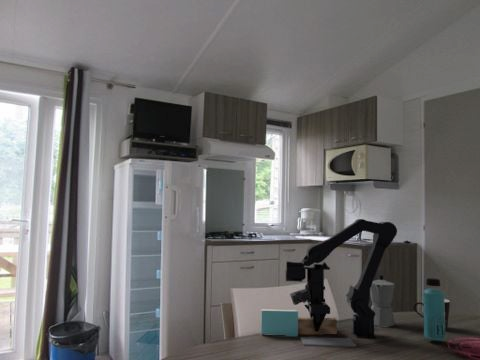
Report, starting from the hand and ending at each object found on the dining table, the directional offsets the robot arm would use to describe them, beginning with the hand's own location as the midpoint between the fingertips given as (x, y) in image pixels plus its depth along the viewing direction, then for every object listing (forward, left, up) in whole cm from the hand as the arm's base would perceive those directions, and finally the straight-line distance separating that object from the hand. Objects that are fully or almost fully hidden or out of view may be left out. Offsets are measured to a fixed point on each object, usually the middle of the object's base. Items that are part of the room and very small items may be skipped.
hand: (315, 329), depth 135 cm
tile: (+13, +3, -1) cm, 13 cm away
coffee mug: (-45, -11, -1) cm, 46 cm away
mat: (-2, +10, -1) cm, 10 cm away
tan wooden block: (0, 0, -1) cm, 1 cm away
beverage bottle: (-37, +7, -1) cm, 38 cm away
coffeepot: (-28, -15, -1) cm, 32 cm away
